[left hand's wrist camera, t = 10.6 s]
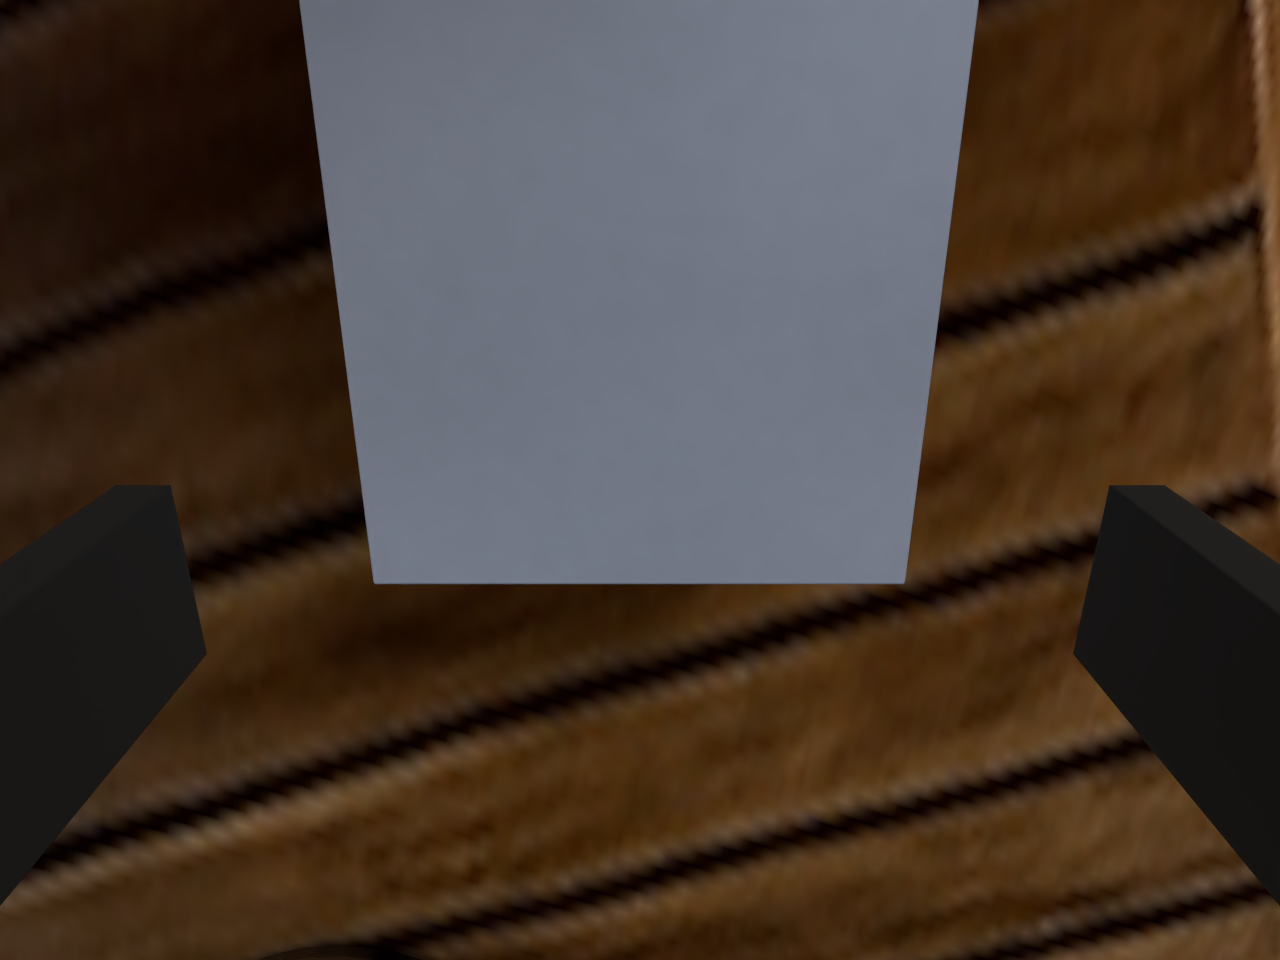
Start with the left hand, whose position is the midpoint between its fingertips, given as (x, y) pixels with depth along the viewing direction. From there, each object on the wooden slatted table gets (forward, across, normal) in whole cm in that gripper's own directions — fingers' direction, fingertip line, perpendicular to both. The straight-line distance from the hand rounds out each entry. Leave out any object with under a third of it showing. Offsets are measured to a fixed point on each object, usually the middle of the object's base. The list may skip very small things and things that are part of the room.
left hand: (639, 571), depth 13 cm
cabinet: (+14, 0, -6) cm, 16 cm away
